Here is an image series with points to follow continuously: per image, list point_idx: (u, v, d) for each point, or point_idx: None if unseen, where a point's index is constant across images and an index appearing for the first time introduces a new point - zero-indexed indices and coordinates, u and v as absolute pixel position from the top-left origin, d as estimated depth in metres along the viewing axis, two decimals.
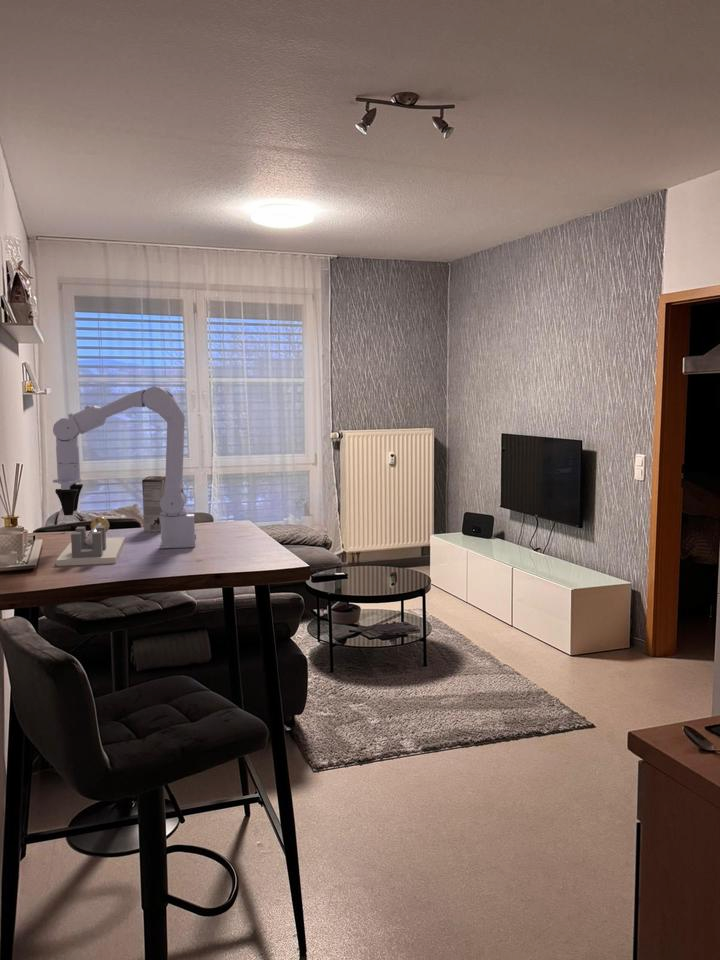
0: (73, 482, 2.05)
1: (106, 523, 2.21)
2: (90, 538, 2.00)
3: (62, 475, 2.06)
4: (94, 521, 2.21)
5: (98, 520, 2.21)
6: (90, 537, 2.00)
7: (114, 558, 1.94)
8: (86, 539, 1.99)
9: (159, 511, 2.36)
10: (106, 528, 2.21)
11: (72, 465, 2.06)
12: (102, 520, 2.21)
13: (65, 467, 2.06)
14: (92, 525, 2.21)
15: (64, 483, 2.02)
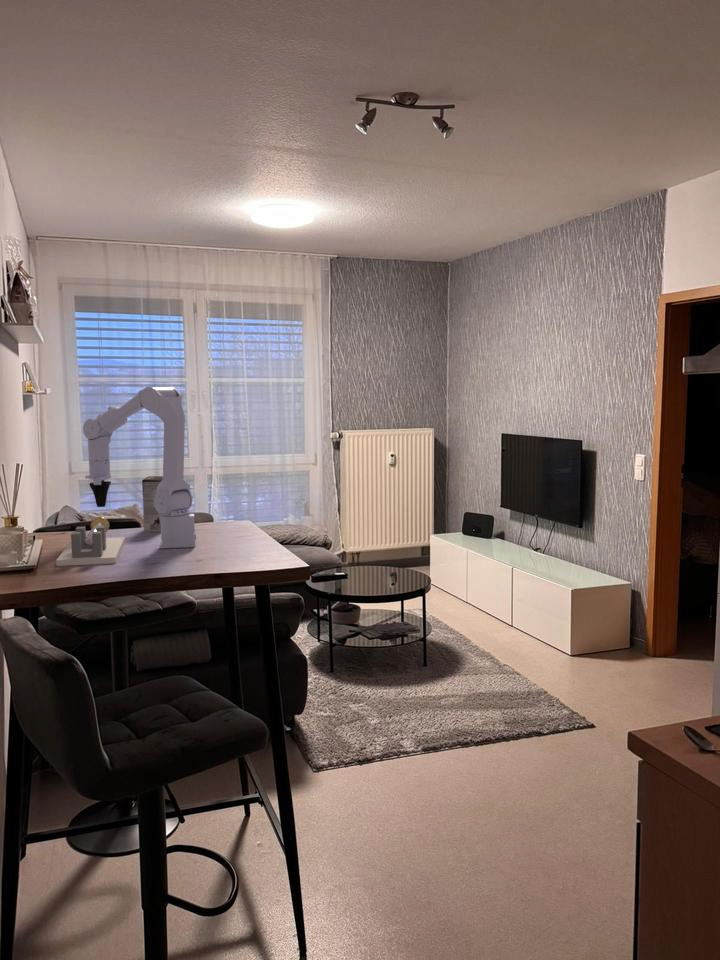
0: (104, 478, 2.22)
1: (106, 523, 2.21)
2: (90, 538, 2.00)
3: (94, 471, 2.22)
4: (94, 521, 2.21)
5: (98, 520, 2.21)
6: (90, 537, 2.00)
7: (114, 558, 1.94)
8: (86, 539, 1.99)
9: None
10: (106, 528, 2.21)
11: (103, 462, 2.23)
12: (102, 520, 2.21)
13: (97, 464, 2.22)
14: (92, 525, 2.21)
15: (96, 479, 2.18)
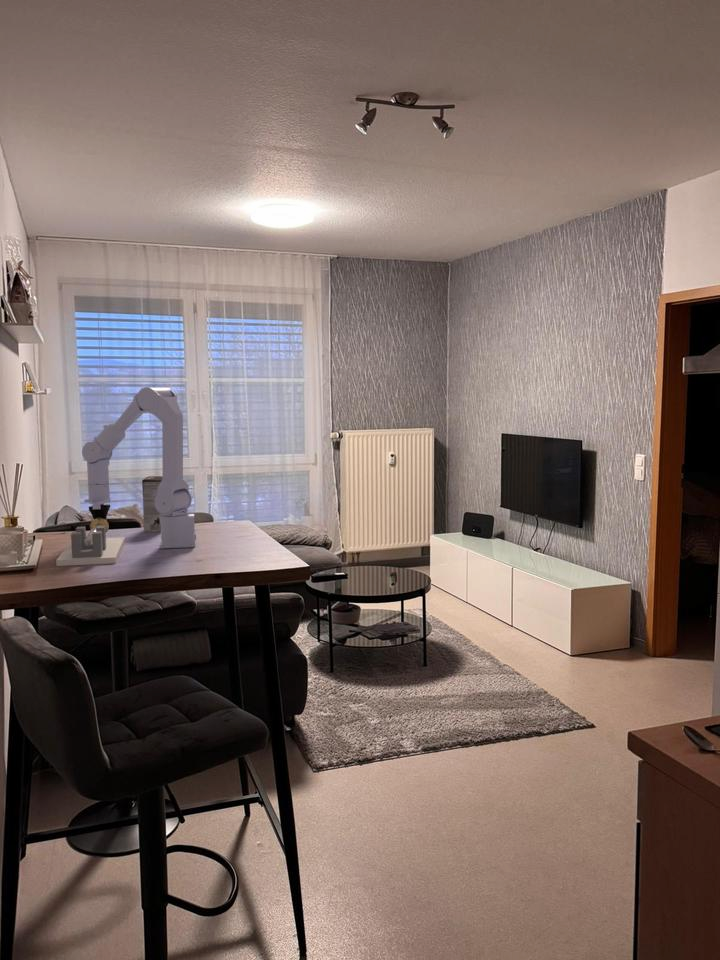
0: (103, 502, 2.18)
1: (106, 523, 2.20)
2: (89, 539, 1.98)
3: (93, 495, 2.19)
4: (93, 521, 2.19)
5: (97, 521, 2.19)
6: (89, 538, 1.98)
7: (114, 558, 1.94)
8: (85, 540, 1.98)
9: None
10: (105, 529, 2.20)
11: (102, 486, 2.19)
12: (101, 521, 2.20)
13: (96, 488, 2.19)
14: (91, 526, 2.19)
15: (95, 503, 2.15)
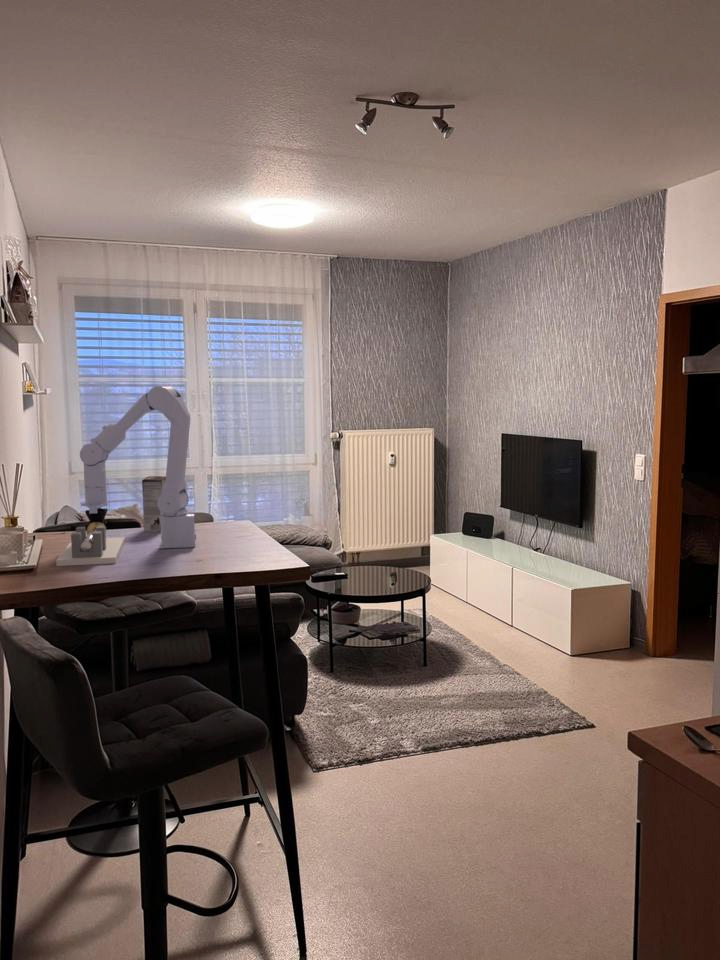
0: (100, 506, 2.11)
1: None
2: (86, 544, 1.92)
3: (90, 499, 2.12)
4: (90, 525, 2.13)
5: (95, 525, 2.13)
6: (86, 543, 1.92)
7: (114, 558, 1.94)
8: (82, 545, 1.92)
9: (159, 511, 2.36)
10: None
11: (99, 489, 2.12)
12: (99, 525, 2.13)
13: (93, 491, 2.12)
14: (88, 530, 2.13)
15: (92, 507, 2.08)
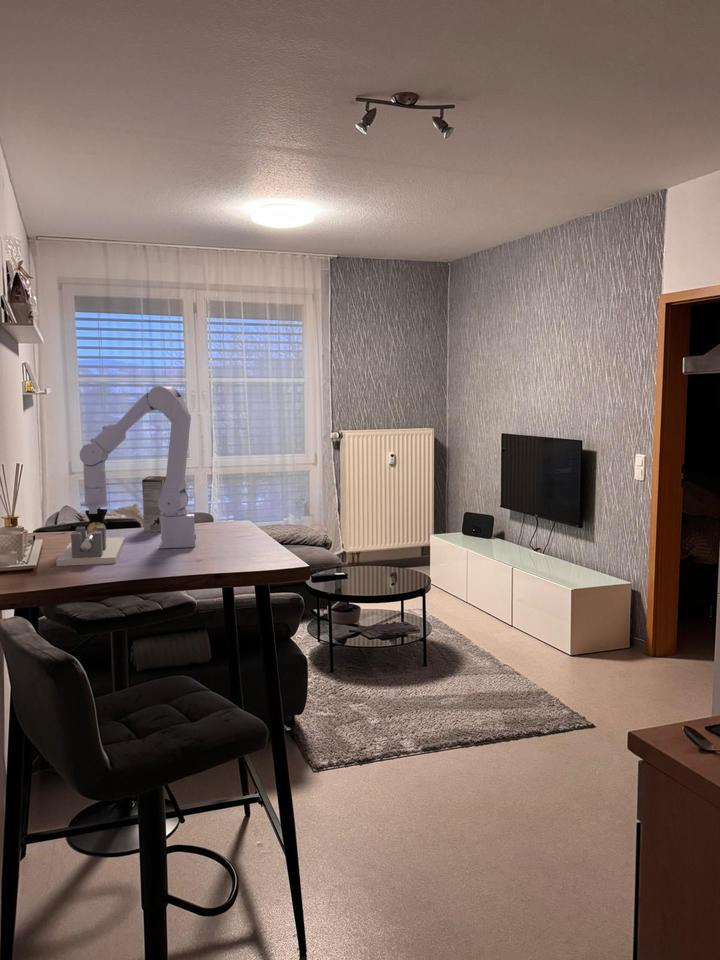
0: (100, 506, 2.11)
1: None
2: (86, 544, 1.92)
3: (89, 499, 2.11)
4: (90, 526, 2.13)
5: (94, 525, 2.13)
6: (86, 543, 1.92)
7: (114, 558, 1.94)
8: (82, 545, 1.91)
9: (159, 511, 2.36)
10: None
11: (99, 489, 2.12)
12: (99, 525, 2.13)
13: (92, 491, 2.11)
14: (88, 530, 2.13)
15: (92, 507, 2.07)
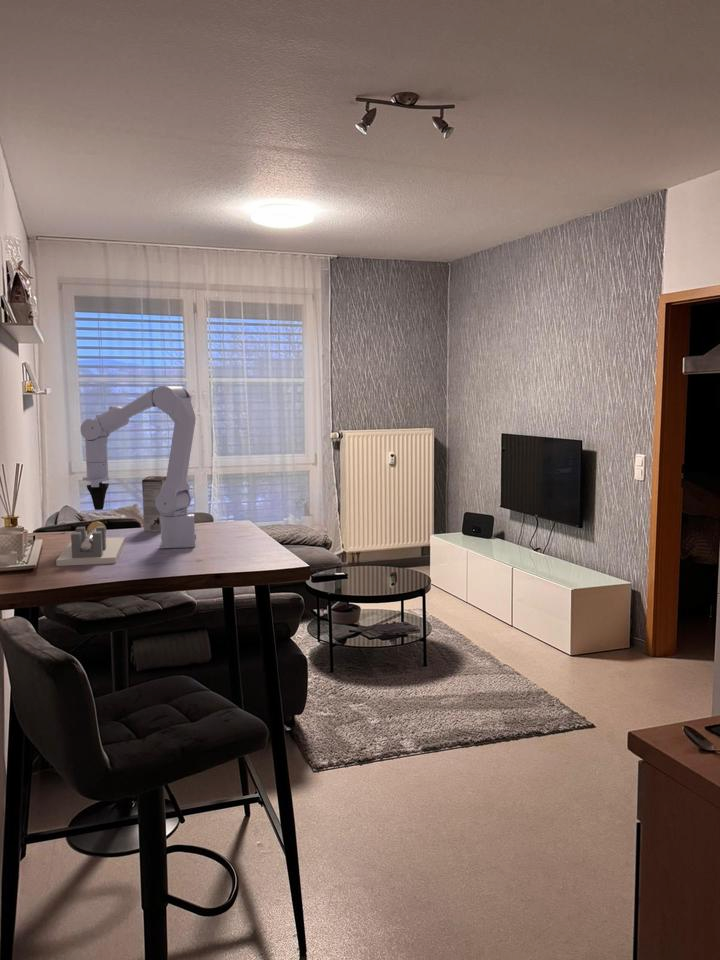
0: (102, 480, 2.15)
1: None
2: (86, 544, 1.92)
3: (91, 473, 2.16)
4: (90, 525, 2.13)
5: (95, 525, 2.13)
6: (86, 543, 1.92)
7: (114, 558, 1.94)
8: (82, 545, 1.92)
9: None
10: None
11: (101, 464, 2.16)
12: (99, 525, 2.13)
13: (94, 465, 2.15)
14: (88, 530, 2.13)
15: (94, 481, 2.12)
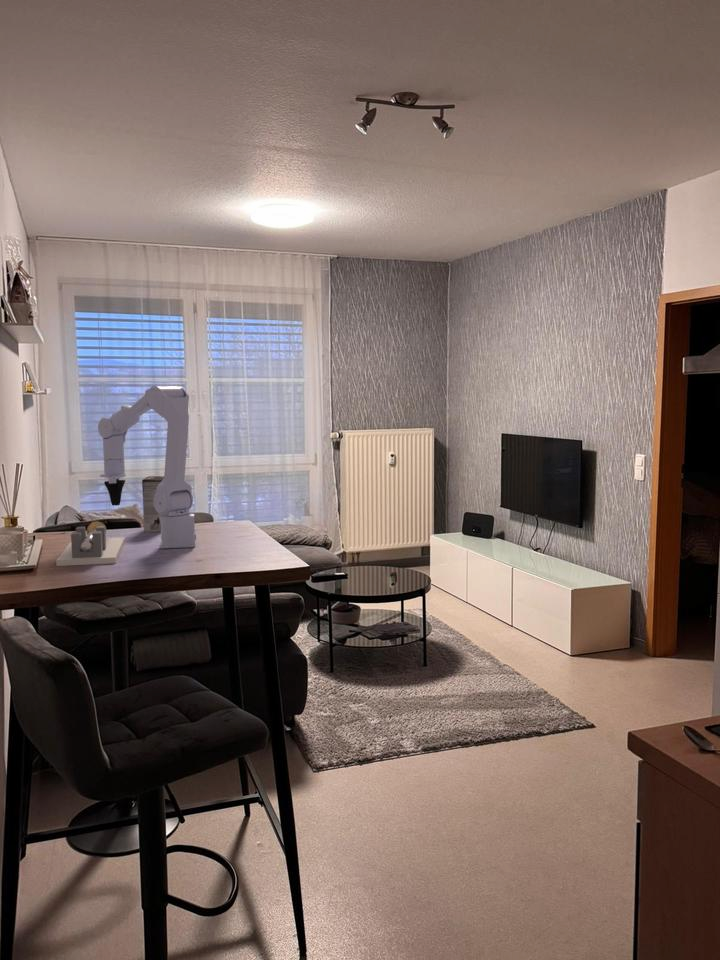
0: (119, 476, 2.23)
1: None
2: (86, 544, 1.92)
3: (109, 470, 2.24)
4: (90, 525, 2.13)
5: (95, 525, 2.13)
6: (86, 543, 1.92)
7: (114, 558, 1.94)
8: (82, 545, 1.92)
9: None
10: None
11: (118, 461, 2.24)
12: (99, 525, 2.13)
13: (112, 463, 2.24)
14: (88, 530, 2.13)
15: (111, 477, 2.20)
